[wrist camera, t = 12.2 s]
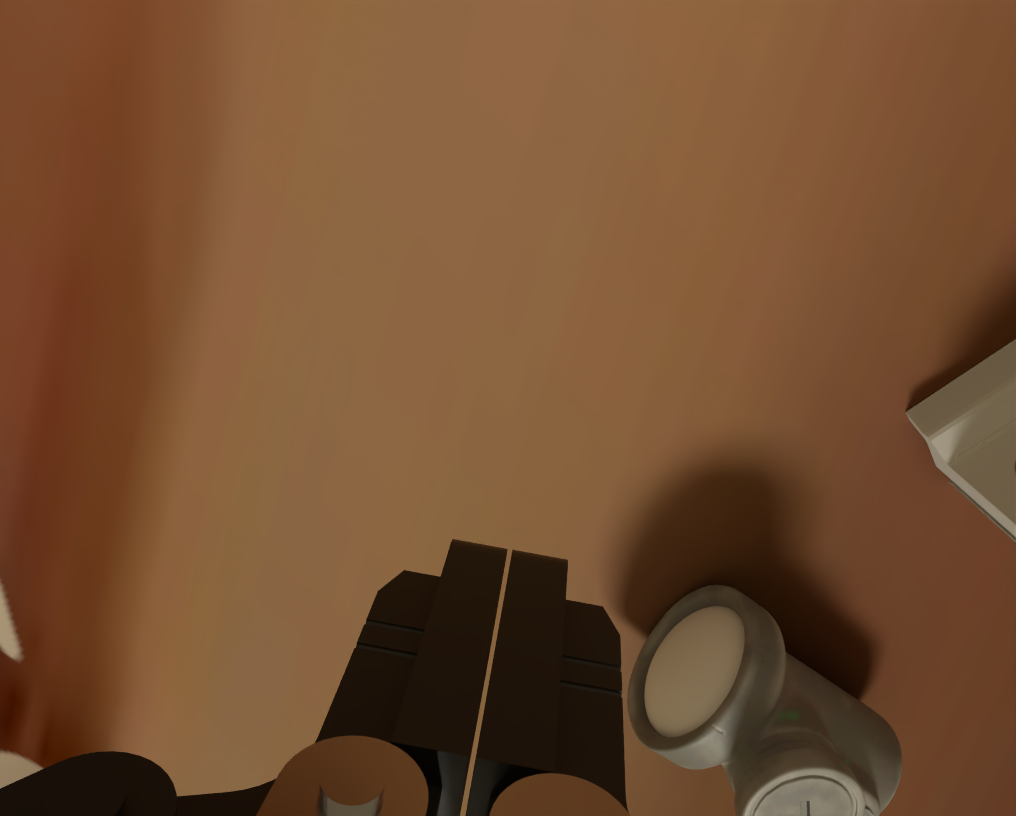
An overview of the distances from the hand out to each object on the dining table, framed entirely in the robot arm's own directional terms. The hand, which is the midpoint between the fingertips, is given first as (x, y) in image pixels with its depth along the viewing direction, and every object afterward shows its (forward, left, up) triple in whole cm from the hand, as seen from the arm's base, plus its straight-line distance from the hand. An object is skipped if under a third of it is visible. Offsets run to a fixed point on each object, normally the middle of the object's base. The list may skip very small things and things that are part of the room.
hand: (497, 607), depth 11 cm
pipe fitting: (+24, -5, -27) cm, 37 cm away
